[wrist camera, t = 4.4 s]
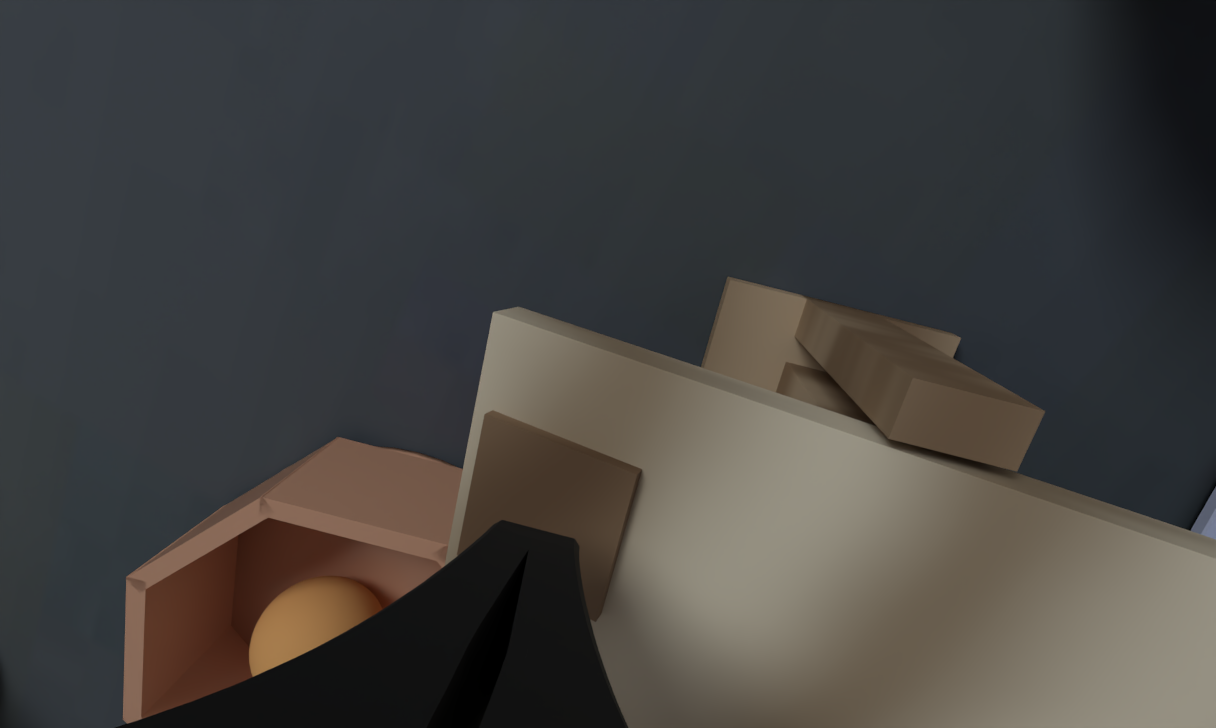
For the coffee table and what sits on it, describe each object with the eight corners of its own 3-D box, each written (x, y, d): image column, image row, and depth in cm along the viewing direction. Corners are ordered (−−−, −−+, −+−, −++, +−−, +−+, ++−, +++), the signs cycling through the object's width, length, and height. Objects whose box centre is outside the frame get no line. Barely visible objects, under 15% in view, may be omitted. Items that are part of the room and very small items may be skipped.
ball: (287, 541, 19) (408, 561, 20) (277, 638, 20) (392, 654, 21) (227, 624, 16) (374, 645, 16) (218, 735, 17) (357, 752, 17)
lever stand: (950, 332, 16) (1178, 445, 9) (752, 818, 21) (799, 1140, 14) (727, 276, 16) (781, 344, 9) (580, 773, 21) (540, 1071, 14)
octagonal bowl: (598, 498, 19) (583, 579, 15) (525, 778, 22) (496, 905, 18) (238, 405, 19) (128, 461, 15) (215, 697, 22) (120, 806, 18)
